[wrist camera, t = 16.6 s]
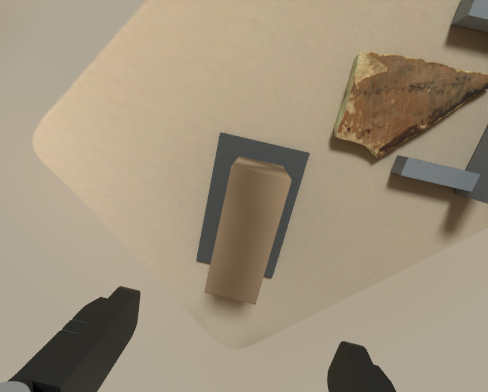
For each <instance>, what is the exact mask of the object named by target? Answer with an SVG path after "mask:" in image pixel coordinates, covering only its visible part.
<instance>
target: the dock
mask: <svg viewBox="0 0 488 392" xmlns="http://www.w3.org/2000/svg"><path fill="white" fill-rule="evenodd" d="M452 25H456V26H460V27H465V28H469V29H474V30H478V31H482V32H487V33H488V0H461V2H460V4H459V6H458V9H457V11H456V14H455V16H454V19H453V21H452ZM391 172H392V173H395V174H398V175H402V176H406V177H410V178H415V179H419V180H423V181H427V182H432V183H436V184H440V185H445V186H449V187H453V188H456V190H455V192H454V193H457V194H460V195H463V196H466V197H469V198H472V199H475V200H478V201H481V202H484V203H487V204H488V126H487V128H486V130H485V132H484V134H483V136H482V138H481V140H480V142H479V144H478V146H477V148H476V150H475V152H474V154H473V156H472V158H471V160H470V162H469V164H468V166H467V168H466V170H465V171H464V170H460V169H456V168H451V167H447V166H443V165H439V164H434V163H430V162H426V161H421V160H417V159H413V158H408V157H403V156H397V158H396V161H395V163H394V166H393V168H392V171H391Z"/></svg>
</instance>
